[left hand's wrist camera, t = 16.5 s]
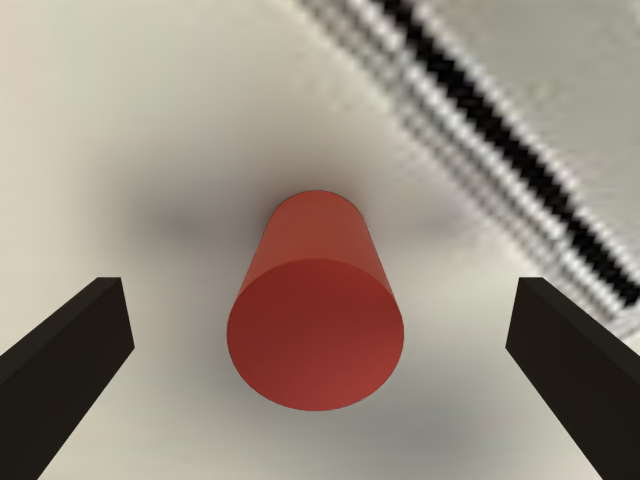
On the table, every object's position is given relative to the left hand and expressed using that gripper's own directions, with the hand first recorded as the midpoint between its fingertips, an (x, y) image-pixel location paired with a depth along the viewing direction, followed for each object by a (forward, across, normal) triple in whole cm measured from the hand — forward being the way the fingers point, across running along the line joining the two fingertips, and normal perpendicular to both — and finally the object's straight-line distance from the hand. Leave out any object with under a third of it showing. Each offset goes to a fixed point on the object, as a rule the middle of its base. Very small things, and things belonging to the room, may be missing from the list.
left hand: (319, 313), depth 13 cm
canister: (+8, 0, 0) cm, 8 cm away
